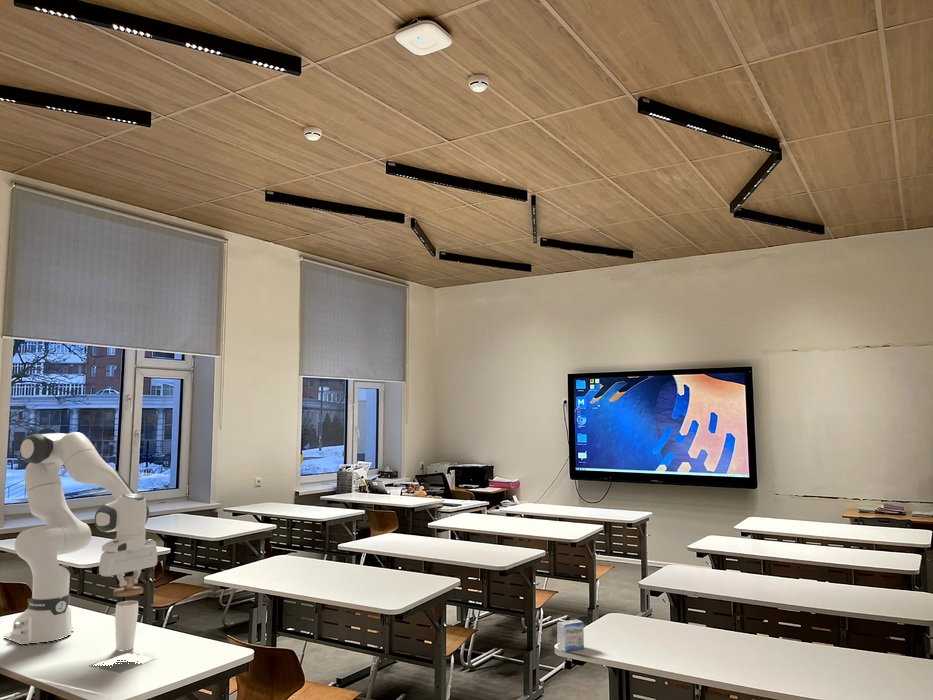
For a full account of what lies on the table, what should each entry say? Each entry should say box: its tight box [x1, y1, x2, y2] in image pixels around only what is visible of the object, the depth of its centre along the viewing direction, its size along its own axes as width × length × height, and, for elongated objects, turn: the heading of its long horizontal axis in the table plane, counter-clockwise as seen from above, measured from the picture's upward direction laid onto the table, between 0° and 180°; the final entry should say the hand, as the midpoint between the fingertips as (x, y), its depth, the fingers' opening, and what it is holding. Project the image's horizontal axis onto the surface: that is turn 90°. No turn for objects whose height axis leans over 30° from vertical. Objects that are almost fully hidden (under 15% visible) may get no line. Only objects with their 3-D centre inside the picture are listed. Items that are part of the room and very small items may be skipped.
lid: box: [112, 575, 144, 598], centre depth 224 cm, size 9×9×5 cm
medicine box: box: [556, 618, 585, 653], centre depth 223 cm, size 8×4×9 cm, turn 117°
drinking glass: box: [114, 600, 139, 651], centre depth 223 cm, size 7×7×15 cm
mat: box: [88, 660, 143, 673], centre depth 209 cm, size 14×14×1 cm
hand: (128, 585), depth 224 cm, fingers closed on lid, 3 cm apart
